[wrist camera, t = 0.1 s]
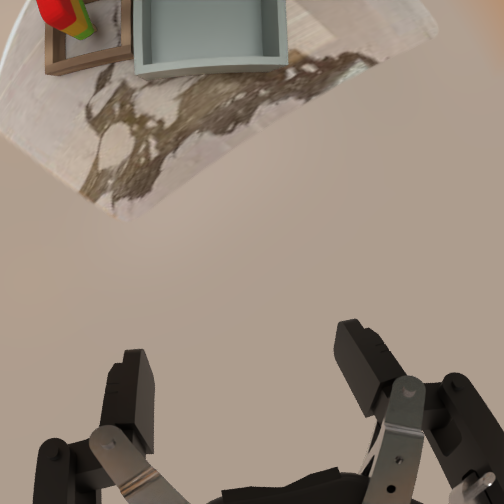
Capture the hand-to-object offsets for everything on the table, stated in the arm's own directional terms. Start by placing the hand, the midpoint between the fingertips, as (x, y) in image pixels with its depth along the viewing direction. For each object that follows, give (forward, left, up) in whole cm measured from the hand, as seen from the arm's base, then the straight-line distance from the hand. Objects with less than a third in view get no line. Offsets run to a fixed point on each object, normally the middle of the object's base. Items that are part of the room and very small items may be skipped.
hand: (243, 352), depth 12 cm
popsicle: (-21, -12, -28) cm, 37 cm away
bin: (-20, +1, -28) cm, 35 cm away
